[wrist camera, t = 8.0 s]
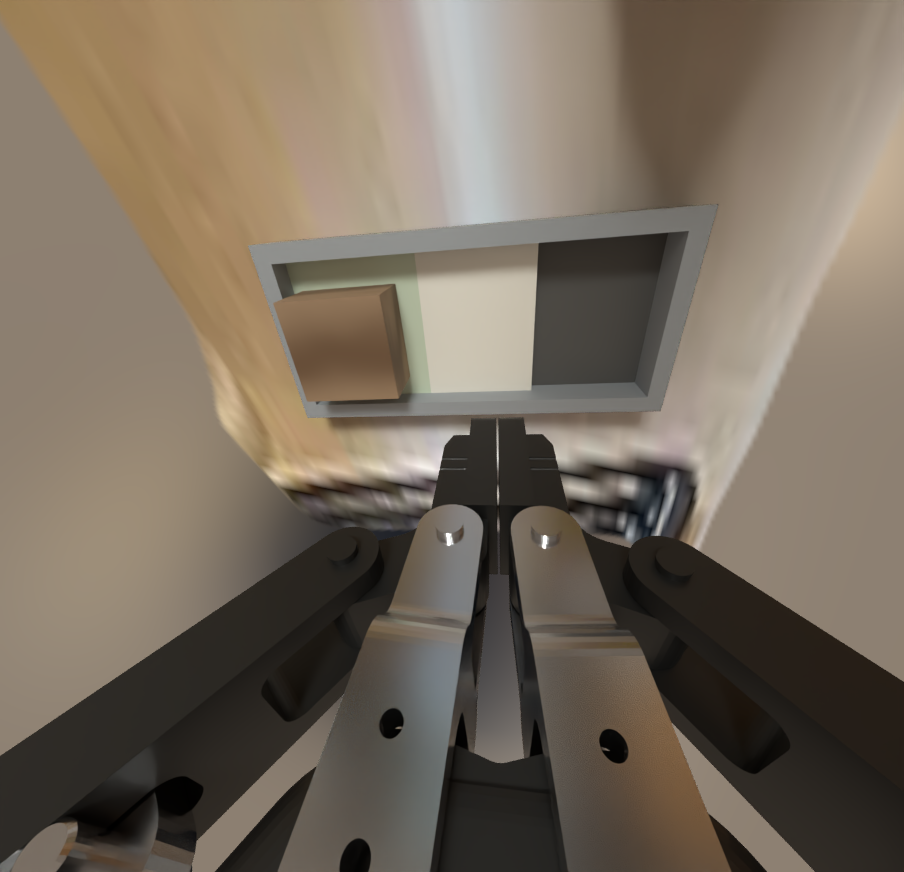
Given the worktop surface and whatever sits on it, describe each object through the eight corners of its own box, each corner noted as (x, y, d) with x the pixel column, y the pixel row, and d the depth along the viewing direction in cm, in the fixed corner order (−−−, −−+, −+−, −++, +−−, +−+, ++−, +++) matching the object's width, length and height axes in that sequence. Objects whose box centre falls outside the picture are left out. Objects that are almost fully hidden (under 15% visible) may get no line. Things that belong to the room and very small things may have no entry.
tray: (272, 242, 21) (248, 245, 19) (692, 205, 18) (718, 204, 16) (321, 402, 27) (307, 417, 25) (645, 393, 24) (660, 411, 22)
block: (302, 290, 22) (273, 303, 19) (395, 283, 21) (379, 295, 18) (329, 379, 25) (307, 401, 22) (410, 376, 24) (398, 398, 21)
